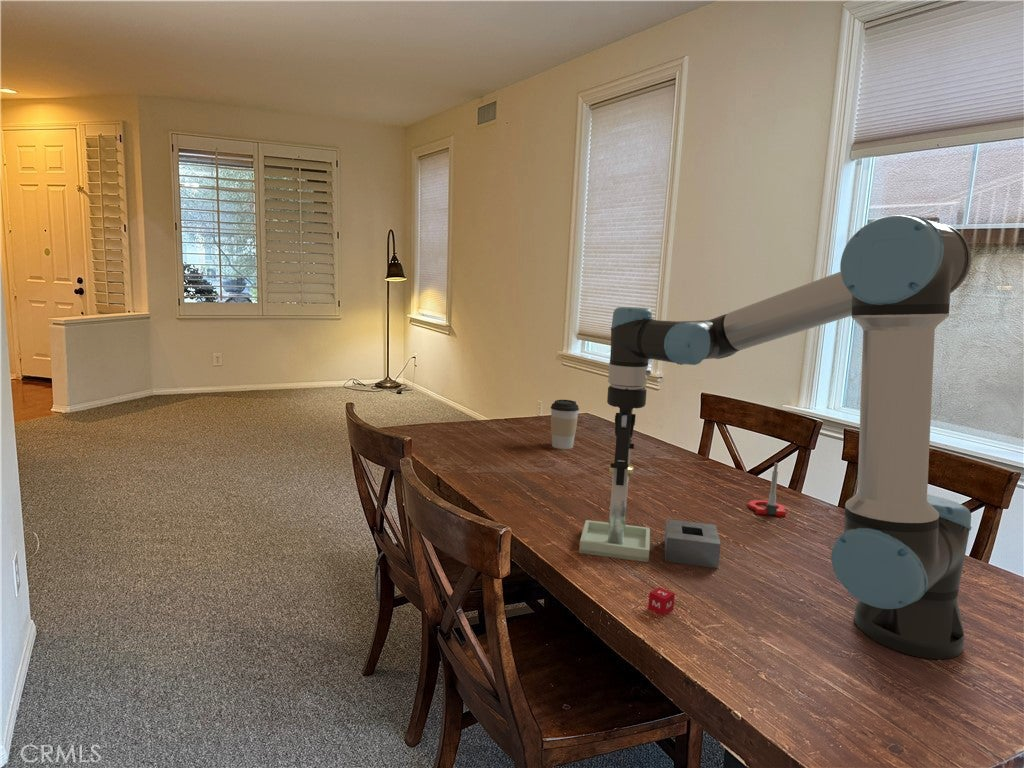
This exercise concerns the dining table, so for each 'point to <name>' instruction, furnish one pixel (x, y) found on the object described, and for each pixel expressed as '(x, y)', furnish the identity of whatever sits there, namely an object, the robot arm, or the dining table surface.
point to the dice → (661, 601)
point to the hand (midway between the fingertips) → (620, 489)
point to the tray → (631, 549)
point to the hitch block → (692, 543)
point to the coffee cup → (563, 423)
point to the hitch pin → (617, 515)
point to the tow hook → (770, 504)
